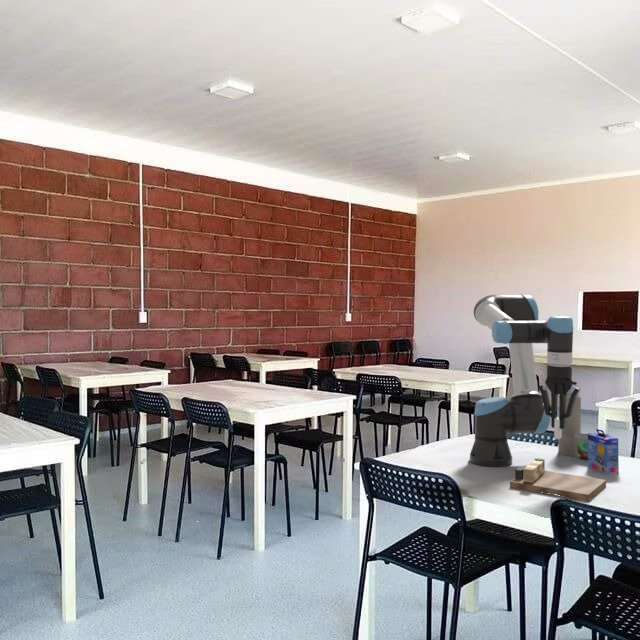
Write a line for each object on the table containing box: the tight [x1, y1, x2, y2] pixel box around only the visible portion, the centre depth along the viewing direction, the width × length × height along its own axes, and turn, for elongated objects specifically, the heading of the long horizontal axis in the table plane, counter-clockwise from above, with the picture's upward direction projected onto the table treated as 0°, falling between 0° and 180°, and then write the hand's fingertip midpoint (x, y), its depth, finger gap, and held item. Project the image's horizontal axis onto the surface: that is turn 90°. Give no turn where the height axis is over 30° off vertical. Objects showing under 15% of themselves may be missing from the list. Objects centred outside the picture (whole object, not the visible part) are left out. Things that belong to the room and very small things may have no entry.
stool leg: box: [523, 457, 546, 483], centre depth 215 cm, size 16×3×4 cm, turn 148°
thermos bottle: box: [557, 380, 582, 457], centre depth 256 cm, size 8×8×28 cm
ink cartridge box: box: [587, 428, 620, 475], centre depth 231 cm, size 10×6×14 cm, turn 16°
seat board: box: [509, 466, 607, 502], centre depth 211 cm, size 24×20×5 cm
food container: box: [574, 431, 610, 462], centre depth 246 cm, size 12×6×10 cm, turn 69°
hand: (557, 438), depth 212 cm, fingers closed
